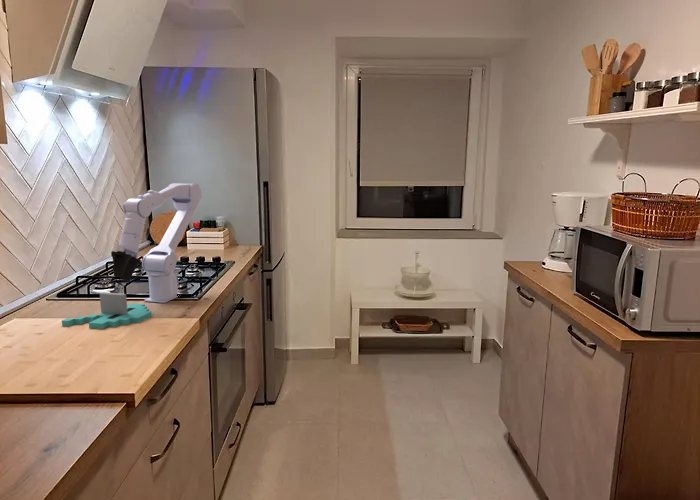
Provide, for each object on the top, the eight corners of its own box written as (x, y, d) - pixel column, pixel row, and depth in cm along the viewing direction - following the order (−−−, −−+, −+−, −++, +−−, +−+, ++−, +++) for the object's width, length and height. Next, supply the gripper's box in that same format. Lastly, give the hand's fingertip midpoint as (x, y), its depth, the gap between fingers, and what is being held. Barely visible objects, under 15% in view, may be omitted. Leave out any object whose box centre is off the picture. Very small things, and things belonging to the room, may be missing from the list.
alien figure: (62, 327, 144) (124, 332, 140) (61, 320, 144) (123, 325, 140) (108, 308, 163) (164, 312, 159) (108, 301, 163) (163, 305, 159)
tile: (105, 311, 153) (103, 292, 152) (127, 313, 151) (126, 294, 150) (101, 312, 151) (99, 293, 150) (123, 314, 149) (122, 295, 148)
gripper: (125, 238, 163) (116, 279, 160) (109, 228, 149) (99, 273, 146) (147, 241, 163) (139, 282, 161) (134, 231, 149) (124, 276, 146)
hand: (121, 278), depth 153 cm, fingers open, 7 cm apart
